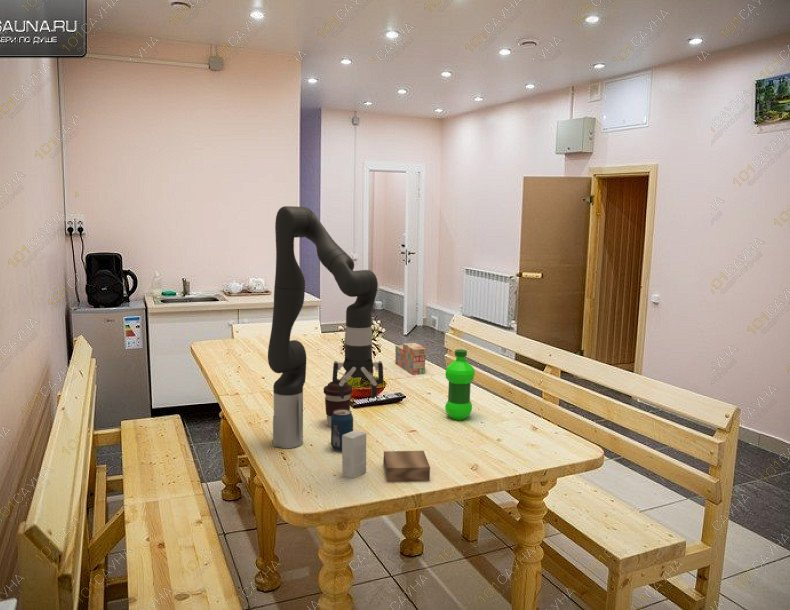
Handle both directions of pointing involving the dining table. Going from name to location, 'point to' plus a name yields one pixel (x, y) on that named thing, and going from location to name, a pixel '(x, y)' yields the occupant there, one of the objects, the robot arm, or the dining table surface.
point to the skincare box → (354, 453)
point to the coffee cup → (336, 399)
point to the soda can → (340, 427)
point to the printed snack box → (411, 358)
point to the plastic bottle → (459, 386)
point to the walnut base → (406, 466)
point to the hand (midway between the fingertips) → (357, 397)
